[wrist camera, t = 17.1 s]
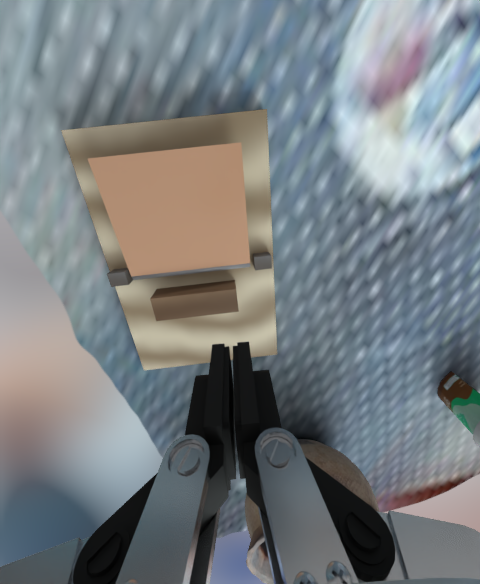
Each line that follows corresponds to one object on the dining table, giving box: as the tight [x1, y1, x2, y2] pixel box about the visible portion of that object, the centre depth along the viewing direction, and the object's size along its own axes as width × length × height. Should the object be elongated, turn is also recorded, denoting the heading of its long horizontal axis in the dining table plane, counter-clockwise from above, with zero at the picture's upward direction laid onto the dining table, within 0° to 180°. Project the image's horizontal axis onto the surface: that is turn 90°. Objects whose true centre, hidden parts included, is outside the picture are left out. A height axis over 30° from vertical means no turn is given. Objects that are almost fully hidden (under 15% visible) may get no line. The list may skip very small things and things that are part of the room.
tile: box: [88, 142, 250, 280], centre depth 25 cm, size 13×14×2 cm
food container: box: [438, 371, 480, 447], centre depth 38 cm, size 12×6×10 cm, turn 51°
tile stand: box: [61, 109, 277, 370], centre depth 28 cm, size 30×20×4 cm, turn 6°
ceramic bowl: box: [245, 439, 380, 584], centre depth 40 cm, size 22×22×15 cm
